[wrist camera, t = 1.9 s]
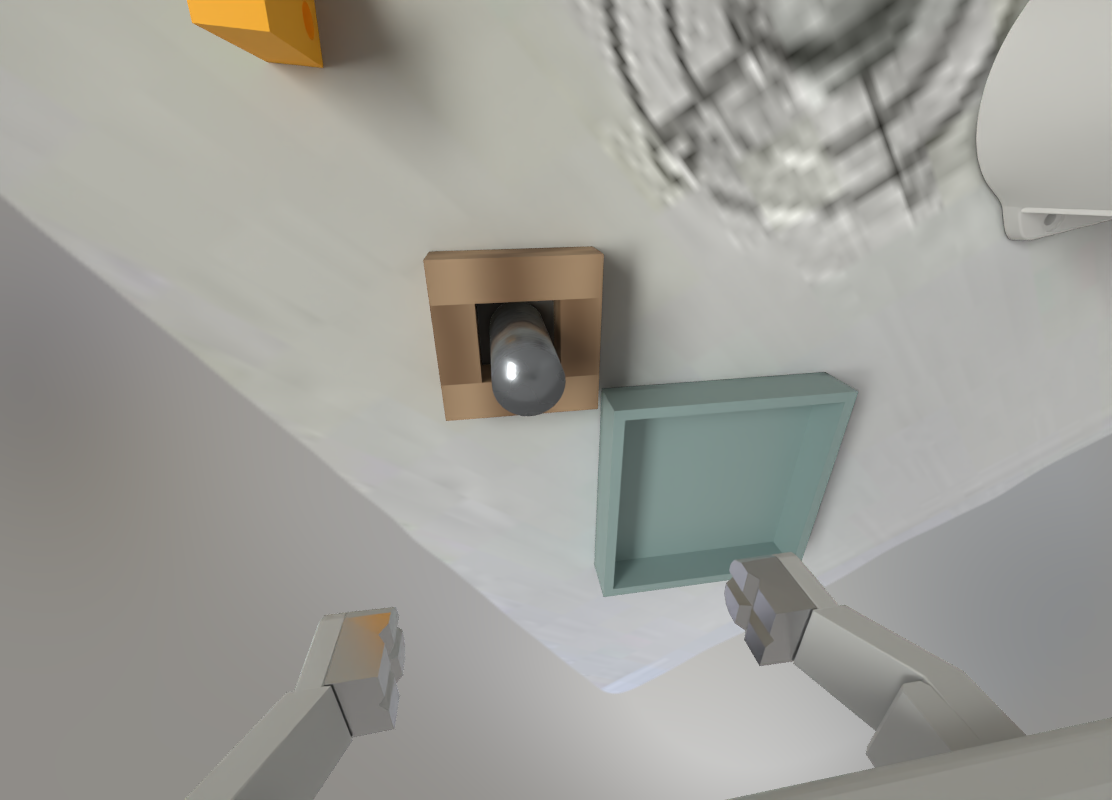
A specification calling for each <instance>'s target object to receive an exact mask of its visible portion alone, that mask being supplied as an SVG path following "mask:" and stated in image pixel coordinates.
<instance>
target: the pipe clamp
mask: <svg viewBox="0 0 1112 800" xmlns="http://www.w3.org/2000/svg"><path fill="white" fill-rule="evenodd" d="M187 3H188V7H189V11H190V15H191V20H192V23H194V24H195V25H197V26H199V27H201V28H203V29H205V30H207V31H209V32H211V33H213V34H215V35H216V36H218V37H220V38H222V39H224V40H226V41H228V42H230V43H232V44H234V45H236V46H237V47H239V48H241V49H243V50H245V51H247V52H249V53H251V54H253V55H255V56H257V57H259V58H260V59H262V60H264V61H266V62H273V63H282V64H292V65H301V66H310V67H320V68H323V61H322V53H321V46H320V39H319V31H318V24H317V17H316V9H315V2H314V0H187Z"/></svg>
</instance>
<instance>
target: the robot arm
mask: <svg viewBox="0 0 1112 800" xmlns="http://www.w3.org/2000/svg"><path fill="white" fill-rule="evenodd" d="M976 145H977V155H978V161H979V165H980V169H981V172H982V174H983V177H984V179H985V181H986V182H987V184H988V186H989V187H990V188H991V189H992V191H993V192H994V193H995V195H996V196H997V197H998V199H999V200H1000V202H1001V204H1002V208H1003V220H1004V227H1005V231H1006V234H1007V236H1008V238H1010V239H1012V240H1034V239H1038V238H1042V237H1046V236H1050V235H1054V234H1058V233H1062V232H1066V231H1069V230H1073V229H1077V228H1081V227H1085V226H1089V225H1093V224H1097V223H1101V222H1105V221H1109V220H1112V0H1030V1H1029V2H1028V3H1027V5H1026V6H1025V8H1024V9H1023V11H1022V12H1021V14H1020V15H1019V17H1018V18H1017V20H1016V21H1015V23H1014V25H1013V26H1012V28H1011V30H1010V31H1009V33H1008V35H1007V37H1006V39H1005V40H1004V42H1003V44H1002V46H1001V48H1000V50H999V52H998V55H997V57H996V59H995V61H994V64H993V66H992V69H991V71H990V74H989V76H988V79H987V82H986V85H985V89H984V92H983V96H982V100H981V104H980V109H979V115H978V122H977V134H976ZM729 571H730V573H731V575H732V576H733V577H732V578H731V579H730V580H729V581H728V582H727V583H726V587H725V592H724V594H725V601H726V606H727V608H728V611H729V614H730V615H731V617H732V619H733V621H734V623H736V624H737V625H738V626H740V627H741V628H743V629H744V630H745V638H744V640H745V642H746V643H747V645H748V647H749V649H750V650H751V652H752V654H753V655H754V657H755V659H756V661H757V662H758V664H759V666H764V665H771V664H777V663H785V662H792V661H794V663H793V664H795V665H796V666H797V667H798V668H799V669H801V670H802V671H803V672H804V673H806V674H807V675H808V676H809V677H811V678H812V679H813V680H814V681H816V682H817V683H818V684H819V685H820V686H822V687H823V688H824V689H825V690H826V691H828V692H829V693H830V694H831V695H832V696H834V697H835V698H836V699H837V700H839V701H840V702H841V703H842V704H844V705H845V706H846V707H847V708H848V709H850V710H851V711H852V712H853V713H855V714H856V715H857V716H858V717H859V718H861V719H862V720H863V721H864V722H866V723H867V724H868V725H869V726H870V727H872V728H873V729H874V730H875V731H876V732H875V734H874V736H873V737H872V739H871V741H870V743H869V744H868V746H867V751H866V755H867V756H868V758H869V759H870V761H871V762H872V764H873V765H874V767H875V768H872V769H868V770H863V771H859V772H854V773H849V774H844V775H840V776H836V777H831V778H826V779H821V780H817V781H812V782H808V783H803V784H798V785H793V786H788V787H783V788H779V789H774V790H769V791H765V792H760V793H756V794H751V795H746V796H741V797H737V798H732V799H727V800H1112V718H1107V719H1102V720H1098V721H1093V722H1088V723H1083V724H1079V725H1074V726H1069V727H1065V728H1060V729H1056V730H1051V731H1046V732H1042V733H1037V734H1032V735H1026V734H1024V732H1023V731H1022V730H1021V729H1020V728H1019V727H1018V726H1017V725H1016V724H1015V723H1014V722H1013V721H1012V720H1011V719H1010V718H1009V717H1008V716H1007V715H1006V714H1005V713H1004V712H1003V711H1002V710H1001V709H1000V708H999V707H998V706H997V705H996V704H995V703H994V702H993V701H992V700H991V699H990V698H989V697H988V696H987V695H986V694H985V693H984V692H983V691H982V690H981V689H980V688H979V687H978V686H977V685H976V683H975V682H974V681H973V680H972V679H971V678H970V677H969V676H968V675H967V674H966V673H965V672H964V671H962V670H960V669H959V668H957V667H955V666H953V665H952V664H950V663H948V662H946V661H944V660H943V659H941V658H939V657H937V656H935V655H933V654H932V653H930V652H928V651H926V650H925V649H923V648H921V647H919V646H917V645H916V644H914V643H912V642H910V641H909V640H907V639H905V638H903V637H901V636H900V635H898V634H896V633H894V632H892V631H891V630H889V629H887V628H885V627H883V626H882V625H880V624H878V623H876V622H875V621H873V620H871V619H869V618H867V617H866V616H864V615H862V614H860V613H858V612H857V611H855V610H853V609H851V608H849V607H848V606H846V605H840V606H839V605H838V604H837V602H836V601H835V600H834V599H833V598H832V597H831V595H830V594H829V593H828V592H827V591H826V590H825V588H824V587H823V586H822V585H821V584H820V582H819V581H818V580H817V579H816V578H815V577H814V575H813V574H812V573H811V572H810V571H809V569H808V568H807V567H806V566H805V565H804V564H803V562H802V561H801V560H800V559H799V558H798V557H797V556H796V555H795V554H794V553H792V552H787V553H779V554H772V555H762V556H756V557H749V558H743V559H736V560H734V561H733V562H732V563H731V565H730V569H729ZM398 620H399V615H398V612H397V609H396V607H390V608H381V609H372V610H363V611H354V612H346V613H339V614H331V615H324V616H323V618H322V619H321V621H320V622H319V624H318V627H317V629H316V632H315V635H314V637H313V640H312V643H311V646H310V649H309V652H308V654H307V657H306V660H305V662H304V665H303V668H302V671H301V673H300V677H299V679H298V682H297V685H296V687H295V690H294V691H291V692H286V694H285V695H284V696H283V697H282V698H281V699H280V700H279V701H278V702H277V703H276V704H275V705H274V706H273V707H272V708H271V709H270V710H269V711H268V712H267V713H266V715H264V717H263V718H262V719H261V720H260V721H259V722H258V723H257V724H256V725H255V726H254V727H253V728H252V729H251V730H250V731H249V732H248V733H247V735H246V736H244V737H243V739H242V740H241V741H240V742H239V743H238V744H237V745H236V746H235V747H234V748H233V749H232V750H231V751H230V752H229V753H228V755H226V756H225V757H224V759H222V761H221V762H220V763H219V764H218V765H217V766H216V767H215V768H214V769H213V770H212V771H211V772H210V773H209V774H208V775H207V776H206V777H205V779H204V780H202V782H201V783H200V784H199V785H198V786H197V787H196V788H195V789H194V790H193V791H192V792H191V793H190V794H189V795H188V796H187V797H186V798H185V799H184V800H313V799H314V798H315V796H316V795H317V793H318V792H319V790H320V789H321V787H322V786H323V784H324V783H325V781H326V780H327V778H328V776H329V775H330V774H331V772H332V771H333V769H334V768H335V766H336V765H337V763H338V762H339V760H340V758H341V757H342V755H343V754H344V752H345V751H346V749H347V748H348V746H349V745H350V743H351V742H352V737H357V736H362V735H367V734H372V733H377V732H382V731H387V730H392V729H394V728H395V721H396V716H397V709H398V702H399V692H398V689H397V685H396V683H397V682H398V680H399V679H400V678H401V677H402V675H403V670H404V662H405V642H404V635H403V631H402V629H400V628H398V627H397V625H398Z"/></svg>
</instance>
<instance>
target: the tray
mask: <svg viewBox="0 0 1112 800" xmlns="http://www.w3.org/2000/svg"><path fill="white" fill-rule="evenodd" d="M857 394H858V391H857V390H855V389H853V388H852V387H850V386H848V385H846V384H845V383H843V382H841V381H840V380H838V379H836V378H834V377H833V376H831V375H829V374H827V373H826V372H821V373H807V374H794V375H780V376H767V377H753V378H740V379H726V380H713V381H699V382H685V383H672V384H658V385H645V386H631V387H618V388H604V389H602V394H601V418H600V442H599V466H598V490H597V514H596V538H595V562H594V565H595V569H596V572H597V576H598V579H599V583H600V586H601V590H602V593H603V597H607V596H615V595H622V594H630V593H637V592H644V591H652V590H659V589H667V588H674V587H681V586H689V585H696V584H704V583H711V582H718V581H726V580H730V579H731V578H732V577H733V576H732V575H731V573H730V571H729V569H730V565H731V563H732V562H733V561H734V560H736V559H743V558H749V557H756V556H762V555H772V554H779V553H787V552H792V553H794V554H795V555H796V556H797V557H798V558H799V559H800V560H801V561H802V558H803V555H804V552H805V549H806V546H807V543H808V540H809V537H810V534H811V531H812V528H813V525H814V522H815V519H816V516H817V513H818V510H819V507H820V504H821V501H822V498H823V495H824V492H825V489H826V486H827V483H828V480H829V478H830V475H831V472H832V469H833V466H834V463H835V460H836V457H837V454H838V451H839V448H840V445H841V442H842V439H843V436H844V433H845V430H846V427H847V424H848V421H849V418H850V415H851V412H852V409H853V406H854V403H855V400H856V397H857Z"/></svg>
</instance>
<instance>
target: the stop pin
mask: <svg viewBox="0 0 1112 800" xmlns="http://www.w3.org/2000/svg"><path fill="white" fill-rule="evenodd" d="M489 331H490V354H491V377H492V390H493V394H494V396H495V398H496V400H497V401H498V403H499V404H500V405H501V406H502V407H503V408H504V409H506V410H507V411H509V412H511V413H513V414H516V415H520V416H534V415H538V414H541V413H544V412H546V411H548V410H549V409H551V408H552V407H553V406H554V405H556V403H557V402H558V401H559V400H560V398H561V396H562V395H563V392H564V389H565V382H566V380H565V373H564V370H563V368H562V365H561V363H560V360H559V358H558V356H557V353H556V351H555V348H554V346H553V344H552V341H551V339H550V336H549V334H548V331H547V329H546V327H545V324H544V322H543V319H542V317H541V315H540V313H539V312H538V310H537V309H536V308H535V307H534V306H532V305H531V304H529V303H527V302H507V303H504V304H502V305H501V306H499V307H498V308H497V309H496V310H495V312H494V313H493V315H492V317H491V319H490V324H489Z"/></svg>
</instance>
